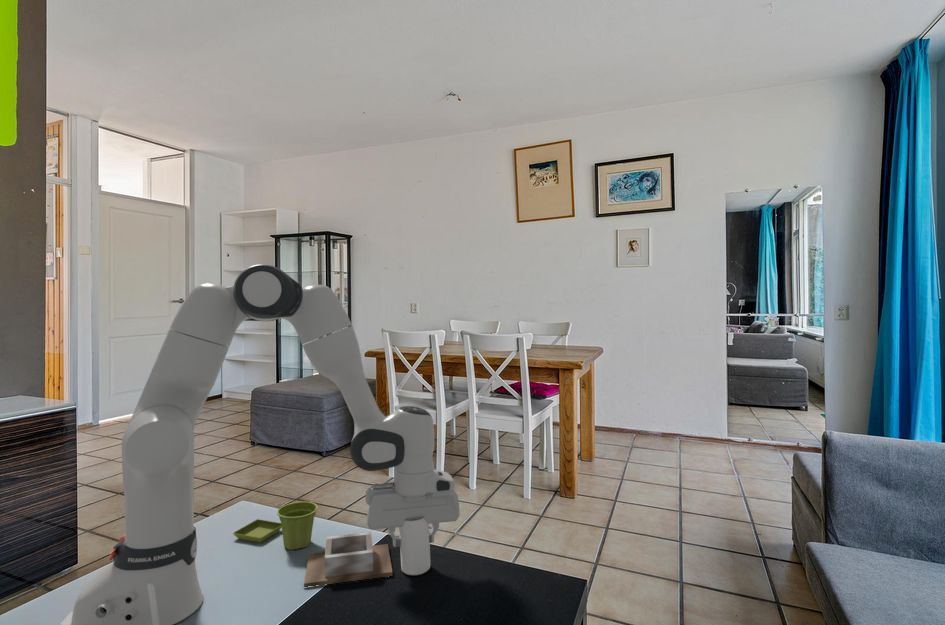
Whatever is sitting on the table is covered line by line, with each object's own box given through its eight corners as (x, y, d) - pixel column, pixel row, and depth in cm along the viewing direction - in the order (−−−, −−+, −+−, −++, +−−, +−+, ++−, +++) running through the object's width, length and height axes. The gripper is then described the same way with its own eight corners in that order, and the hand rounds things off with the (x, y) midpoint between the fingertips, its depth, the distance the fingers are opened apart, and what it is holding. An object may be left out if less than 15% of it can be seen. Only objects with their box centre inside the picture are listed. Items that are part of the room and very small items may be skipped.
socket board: (304, 590, 100) (304, 564, 100) (309, 559, 113) (309, 535, 113) (392, 578, 105) (392, 553, 105) (387, 550, 117) (387, 527, 117)
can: (426, 577, 104) (423, 521, 104) (397, 575, 105) (394, 520, 105) (434, 561, 110) (431, 508, 110) (406, 559, 111) (404, 507, 111)
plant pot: (324, 537, 123) (324, 502, 123) (305, 555, 114) (305, 518, 114) (290, 534, 125) (290, 500, 125) (269, 552, 116) (268, 515, 115)
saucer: (284, 531, 127) (284, 523, 127) (260, 546, 119) (260, 538, 119) (257, 526, 130) (257, 518, 130) (232, 541, 122) (232, 533, 122)
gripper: (366, 489, 102) (365, 556, 102) (461, 482, 107) (461, 545, 107) (365, 479, 108) (364, 542, 108) (455, 472, 113) (454, 532, 113)
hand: (413, 543), depth 107 cm, fingers open, 6 cm apart
